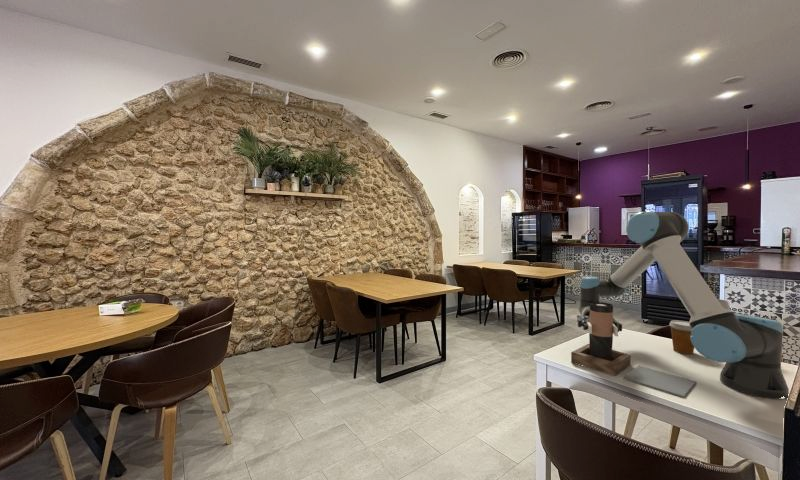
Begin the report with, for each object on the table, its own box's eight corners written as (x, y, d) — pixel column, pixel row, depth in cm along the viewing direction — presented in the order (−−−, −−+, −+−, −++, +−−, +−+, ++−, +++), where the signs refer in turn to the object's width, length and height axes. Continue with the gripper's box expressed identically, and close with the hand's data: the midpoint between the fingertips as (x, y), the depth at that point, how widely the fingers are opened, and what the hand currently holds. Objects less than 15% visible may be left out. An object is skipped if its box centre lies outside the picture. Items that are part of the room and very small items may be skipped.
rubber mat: (696, 382, 110) (696, 381, 110) (683, 397, 100) (683, 395, 100) (639, 367, 123) (639, 365, 123) (623, 379, 113) (623, 377, 113)
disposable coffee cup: (695, 350, 140) (696, 322, 140) (700, 357, 132) (701, 327, 132) (666, 346, 145) (667, 318, 145) (670, 352, 137) (671, 324, 137)
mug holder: (630, 365, 125) (631, 354, 124) (615, 376, 115) (615, 364, 115) (588, 353, 136) (588, 343, 136) (571, 362, 127) (571, 352, 127)
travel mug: (616, 361, 121) (617, 306, 121) (593, 359, 123) (593, 305, 122) (607, 353, 129) (608, 302, 128) (586, 352, 130) (586, 301, 130)
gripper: (620, 327, 139) (636, 344, 117) (566, 322, 146) (572, 338, 125) (621, 309, 138) (636, 323, 117) (566, 305, 146) (572, 318, 125)
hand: (603, 331), depth 121 cm, fingers closed on travel mug, 7 cm apart
